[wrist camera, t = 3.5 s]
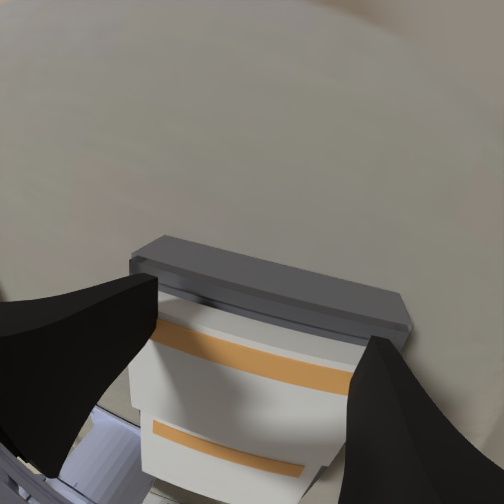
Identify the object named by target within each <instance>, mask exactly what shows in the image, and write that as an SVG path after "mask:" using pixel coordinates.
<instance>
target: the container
mask: <svg viewBox="0 0 504 504" xmlns="http://www.w3.org/2000/svg"><path fill="white" fill-rule="evenodd" d="M142 504H180V503H177V502H175V501H172V500H169V499H167V498H164V497H161V496H159V495H156V494H154V493H152V492H148V494H147V496H146V498H145V499H144V501H143V503H142Z"/></svg>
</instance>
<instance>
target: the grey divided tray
mask: <svg viewBox="0 0 504 504" xmlns="http://www.w3.org/2000/svg"><path fill="white" fill-rule="evenodd" d="M139 273H147V274H150V275H153V276H156V277H158V291H161V292H164V293H167V294H170V295H173V296H176V297H179V298H182V299H185V300H189V301H192V302H195V303H198V304H202V305H205V306H208V307H211V308H215V309H218V310H222V311H225V312H228V313H232V314H235V315H239V316H243V317H246V318H250V319H253V320H257V321H261V322H264V323H268V324H272V325H276V326H280V327H283V328H287V329H291V330H295V331H299V332H303V333H307V334H311V335H316V336H320V337H324V338H328V339H333V340H337V341H342V342H346V343H351V344H355V345H360V346H365V347H366V346H367V344H368V342H369V340H370V338H371V335H373V336H378V337H382V338H387V339H389V340H390V341H391V342H392V344H393V345H394V347H395V348H396V349H397V351H398V352H399V354H400V352H401V350H402V348H403V346H404V344H405V342H406V340H407V338H408V336H409V334H410V332H411V330H412V327H413V325H412V322H411V320H410V317H409V315H408V313H407V310H406V308H405V306H404V303H403V301H402V299H401V297H400V294H399V293H395V292H391V291H387V290H383V289H379V288H375V287H371V286H366V285H362V284H358V283H354V282H350V281H346V280H342V279H338V278H334V277H330V276H326V275H322V274H318V273H314V272H310V271H306V270H302V269H298V268H294V267H290V266H286V265H282V264H278V263H274V262H269V261H265V260H261V259H257V258H253V257H249V256H246V255H242V254H238V253H234V252H230V251H226V250H222V249H218V248H214V247H210V246H206V245H202V244H198V243H194V242H190V241H186V240H182V239H178V238H174V237H170V236H166V235H164V236H162V237H160V238H158V239H156V240H155V241H153V242H151V243H149V244H147V245H146V246H144V247H142V248H140V249H139V250H137V251H135V252H133V253H132V259H130V260H129V276H130V275H134V274H139ZM139 413H140V410H139ZM140 420H141V418H140ZM345 443H346V442H345ZM345 443H344V444H345ZM343 446H344V445H343ZM343 446H342V447H343ZM341 449H342V448H341ZM341 449H340V450H341ZM338 453H339V452H338ZM335 457H336V456H335ZM327 467H328V466H321V468H320V469H319V471H318V473H317V474H316V476H315V477H314V479H313V481H312V482H311V484H310V485H309V487H308V488H307V490H306V491H305V493H304V494H303V496H304V495H305V494H306V493H307V492H308V490H309V489H310V488H311V487H312V486H313V484H314V483H315V482H316V481H317V480H318V478H319V477H320V476H321V475H322V474H323V472H324V471H325V470H326V468H327ZM303 496H302V497H303ZM302 497H301V498H302Z"/></svg>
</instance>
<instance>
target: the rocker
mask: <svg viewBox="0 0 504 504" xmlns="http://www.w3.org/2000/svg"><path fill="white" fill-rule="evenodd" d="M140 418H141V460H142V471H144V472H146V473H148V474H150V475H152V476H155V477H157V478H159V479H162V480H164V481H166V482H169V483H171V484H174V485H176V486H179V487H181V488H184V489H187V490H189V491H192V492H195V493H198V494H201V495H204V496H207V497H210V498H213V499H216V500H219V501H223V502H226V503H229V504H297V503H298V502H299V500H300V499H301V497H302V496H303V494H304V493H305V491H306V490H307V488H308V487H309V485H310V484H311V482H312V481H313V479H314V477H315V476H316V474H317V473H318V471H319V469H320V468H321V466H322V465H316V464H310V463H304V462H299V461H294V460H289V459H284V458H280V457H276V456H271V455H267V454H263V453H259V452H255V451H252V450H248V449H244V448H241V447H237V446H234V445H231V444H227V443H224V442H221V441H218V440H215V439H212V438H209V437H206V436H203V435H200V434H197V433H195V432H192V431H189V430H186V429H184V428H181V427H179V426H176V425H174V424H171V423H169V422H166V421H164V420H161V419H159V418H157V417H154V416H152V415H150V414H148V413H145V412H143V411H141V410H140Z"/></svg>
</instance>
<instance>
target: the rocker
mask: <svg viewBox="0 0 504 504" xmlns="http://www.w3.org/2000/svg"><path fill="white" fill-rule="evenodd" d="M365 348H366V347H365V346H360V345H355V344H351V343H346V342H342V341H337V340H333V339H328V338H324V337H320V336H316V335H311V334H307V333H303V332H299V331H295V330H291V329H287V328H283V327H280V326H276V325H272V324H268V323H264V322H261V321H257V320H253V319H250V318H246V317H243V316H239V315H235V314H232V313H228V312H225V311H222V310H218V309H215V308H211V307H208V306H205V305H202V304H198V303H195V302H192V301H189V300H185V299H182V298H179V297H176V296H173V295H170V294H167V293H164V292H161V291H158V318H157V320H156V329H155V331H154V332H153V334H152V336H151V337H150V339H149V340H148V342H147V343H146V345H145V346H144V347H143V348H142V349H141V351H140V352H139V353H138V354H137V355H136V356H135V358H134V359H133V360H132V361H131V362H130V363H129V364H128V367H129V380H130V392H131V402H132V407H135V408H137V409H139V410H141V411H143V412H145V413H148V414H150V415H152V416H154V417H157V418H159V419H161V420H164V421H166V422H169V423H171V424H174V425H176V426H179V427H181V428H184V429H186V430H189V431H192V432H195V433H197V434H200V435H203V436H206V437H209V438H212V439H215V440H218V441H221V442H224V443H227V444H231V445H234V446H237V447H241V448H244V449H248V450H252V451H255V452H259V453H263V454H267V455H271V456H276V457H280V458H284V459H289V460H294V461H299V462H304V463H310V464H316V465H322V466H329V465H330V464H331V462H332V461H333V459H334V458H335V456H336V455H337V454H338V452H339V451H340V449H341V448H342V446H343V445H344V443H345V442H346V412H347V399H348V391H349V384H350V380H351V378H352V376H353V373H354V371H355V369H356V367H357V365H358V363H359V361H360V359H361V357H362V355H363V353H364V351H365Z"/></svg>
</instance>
